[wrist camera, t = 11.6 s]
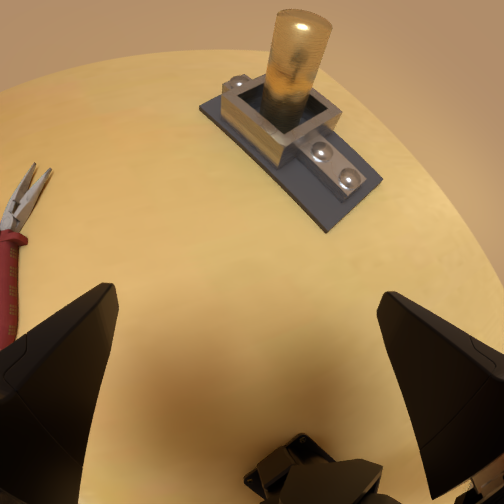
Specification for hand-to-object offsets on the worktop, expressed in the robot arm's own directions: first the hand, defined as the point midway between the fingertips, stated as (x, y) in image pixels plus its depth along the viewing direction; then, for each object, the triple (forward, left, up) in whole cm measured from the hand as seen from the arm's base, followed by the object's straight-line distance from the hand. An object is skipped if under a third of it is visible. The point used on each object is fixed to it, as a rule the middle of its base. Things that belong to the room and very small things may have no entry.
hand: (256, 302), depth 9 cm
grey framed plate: (+10, -15, -13) cm, 23 cm away
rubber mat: (+10, -15, -14) cm, 23 cm away
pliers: (+18, +15, -14) cm, 27 cm away
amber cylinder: (+12, -15, -13) cm, 23 cm away
